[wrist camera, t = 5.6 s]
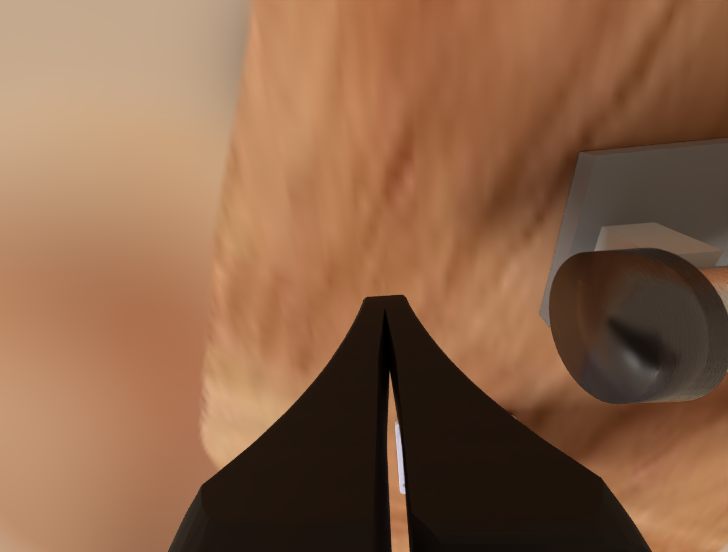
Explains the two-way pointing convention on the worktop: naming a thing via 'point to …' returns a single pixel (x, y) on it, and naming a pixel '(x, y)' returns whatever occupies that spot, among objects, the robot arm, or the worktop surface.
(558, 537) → the robot arm
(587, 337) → the shaft
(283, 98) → the worktop surface
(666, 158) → the shaft stand
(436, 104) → the worktop surface
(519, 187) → the worktop surface
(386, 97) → the worktop surface
